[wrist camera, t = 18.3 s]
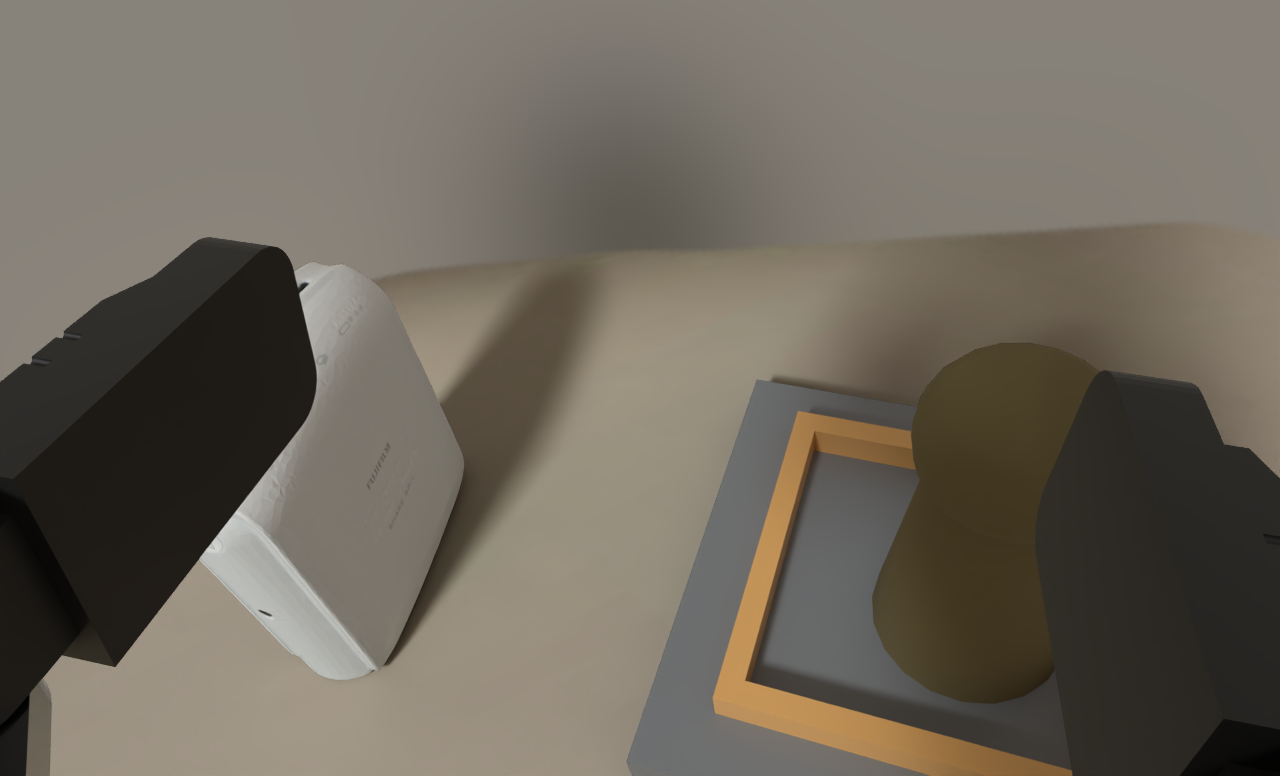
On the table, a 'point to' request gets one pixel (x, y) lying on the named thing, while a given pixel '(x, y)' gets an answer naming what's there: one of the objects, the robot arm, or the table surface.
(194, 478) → the robot arm
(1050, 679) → the socket plate
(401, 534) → the photo printer
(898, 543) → the cork
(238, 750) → the table surface
